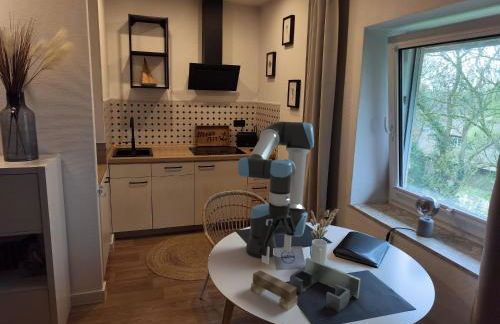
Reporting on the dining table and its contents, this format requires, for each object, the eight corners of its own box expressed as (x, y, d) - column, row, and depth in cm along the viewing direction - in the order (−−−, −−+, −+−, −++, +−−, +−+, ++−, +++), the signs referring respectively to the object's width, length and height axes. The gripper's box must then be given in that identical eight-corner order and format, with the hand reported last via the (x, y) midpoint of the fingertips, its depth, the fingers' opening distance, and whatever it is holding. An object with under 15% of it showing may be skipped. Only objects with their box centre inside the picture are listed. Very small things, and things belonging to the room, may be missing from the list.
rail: (252, 282, 139) (253, 273, 138) (259, 278, 142) (259, 269, 141) (289, 302, 127) (290, 292, 126) (296, 297, 130) (296, 287, 129)
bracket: (287, 287, 142) (288, 269, 140) (306, 274, 152) (307, 257, 150) (341, 313, 126) (343, 293, 124) (358, 297, 136) (360, 278, 135)
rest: (250, 290, 139) (251, 283, 138) (260, 284, 143) (260, 277, 142) (287, 310, 127) (288, 303, 126) (297, 303, 131) (297, 296, 131)
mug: (309, 262, 162) (311, 238, 160) (324, 263, 162) (326, 239, 159) (310, 273, 153) (312, 248, 150) (326, 275, 152) (328, 249, 149)
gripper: (265, 214, 115) (263, 272, 120) (306, 197, 134) (303, 249, 138) (248, 208, 120) (247, 264, 125) (290, 193, 139) (287, 243, 143)
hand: (276, 256), depth 132 cm, fingers open, 13 cm apart
